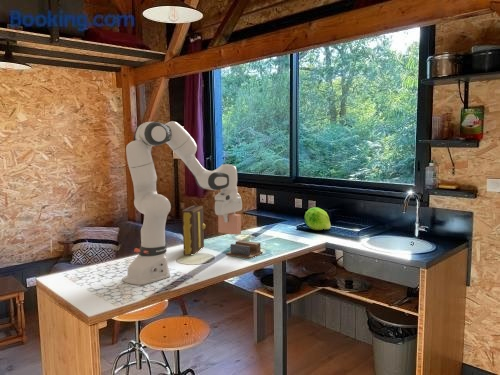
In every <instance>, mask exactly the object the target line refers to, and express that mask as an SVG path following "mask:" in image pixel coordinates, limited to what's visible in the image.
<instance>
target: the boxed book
mask: <svg viewBox="0 0 500 375" xmlns="http://www.w3.org/2000/svg"><path fill="white" fill-rule="evenodd" d="M217 217H218V218H217V227H218V229H217V230H218V233H220V234H229V235H236V236H238V235H241V234H242V214H237V213H236V214H231V213H229V214H228V216H227V217H228V219H229V222H225V220H224V217H223V215H217Z"/></svg>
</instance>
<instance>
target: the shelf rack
mask: <svg viewBox="0 0 500 375" xmlns="http://www.w3.org/2000/svg"><path fill="white" fill-rule="evenodd" d="M235 244H236V245H243V246H250V256H246V255H240V254H233V253H231V251H228V252H226V256H232V257H238V258H243V257H244V259H249V258H252V259H254V258H256V257H259V256H261V255H262V253H264V252H263V251H261V250H262V249H261V242H257V241H249V240H241V239H240V240H237V241H235ZM260 254H261V255H260ZM255 256H256V257H255ZM253 257H254V258H253Z"/></svg>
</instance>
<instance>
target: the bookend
mask: <svg viewBox="0 0 500 375" xmlns="http://www.w3.org/2000/svg"><path fill="white" fill-rule="evenodd" d="M230 252H231V253H233V254H240V255H246V256H250V246H243V245H236V243H235V244H234V243H231V244H230Z"/></svg>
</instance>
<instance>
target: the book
mask: <svg viewBox="0 0 500 375" xmlns="http://www.w3.org/2000/svg"><path fill="white" fill-rule="evenodd" d="M205 229H206V224H205V223H204V205H199V206H197V205H192V206H189V207H187V208H185V209H182V237H183V238H182V239H183V243H182V244H183V256H192V255H191V254H195V253H196V252H197V253H199V252H200V251H201V250H202V249H203V247H205V236H204V235H205V234H204V230H205ZM201 248H202V249H201ZM200 249H201V250H200ZM199 250H200V251H199ZM198 251H199V252H198ZM197 253H196V254H197ZM196 254H195V255H196Z"/></svg>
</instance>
